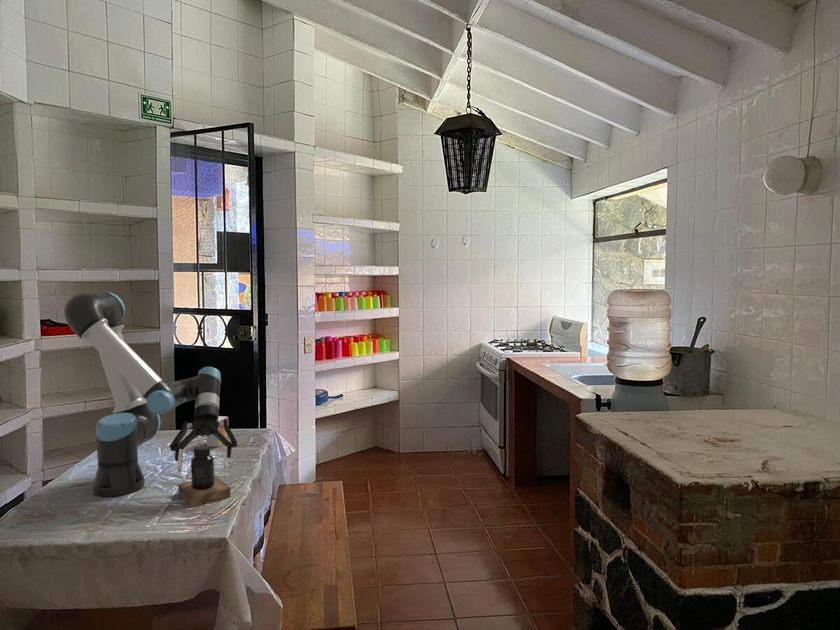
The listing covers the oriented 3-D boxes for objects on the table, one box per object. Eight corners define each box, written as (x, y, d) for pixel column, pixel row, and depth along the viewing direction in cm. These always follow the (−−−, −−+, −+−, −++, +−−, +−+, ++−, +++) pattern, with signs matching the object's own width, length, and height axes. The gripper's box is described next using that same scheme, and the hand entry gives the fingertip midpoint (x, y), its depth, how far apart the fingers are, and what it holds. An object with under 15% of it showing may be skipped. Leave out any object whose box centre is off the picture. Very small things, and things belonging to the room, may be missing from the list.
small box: (219, 447, 241) (218, 421, 240) (206, 446, 242) (205, 420, 241) (229, 441, 248) (228, 416, 247) (217, 440, 250) (216, 415, 249)
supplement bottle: (219, 483, 193) (218, 447, 192) (203, 491, 187) (202, 453, 186) (203, 480, 196) (201, 444, 195) (186, 487, 190) (185, 450, 188)
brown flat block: (191, 506, 183) (190, 496, 182) (178, 493, 193) (178, 484, 193) (230, 496, 190) (230, 487, 190) (216, 484, 200) (215, 476, 200)
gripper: (246, 413, 207) (244, 470, 194) (168, 417, 202) (161, 476, 188) (245, 401, 201) (243, 460, 188) (165, 405, 196) (157, 465, 183)
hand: (202, 468), depth 188 cm, fingers open, 13 cm apart
